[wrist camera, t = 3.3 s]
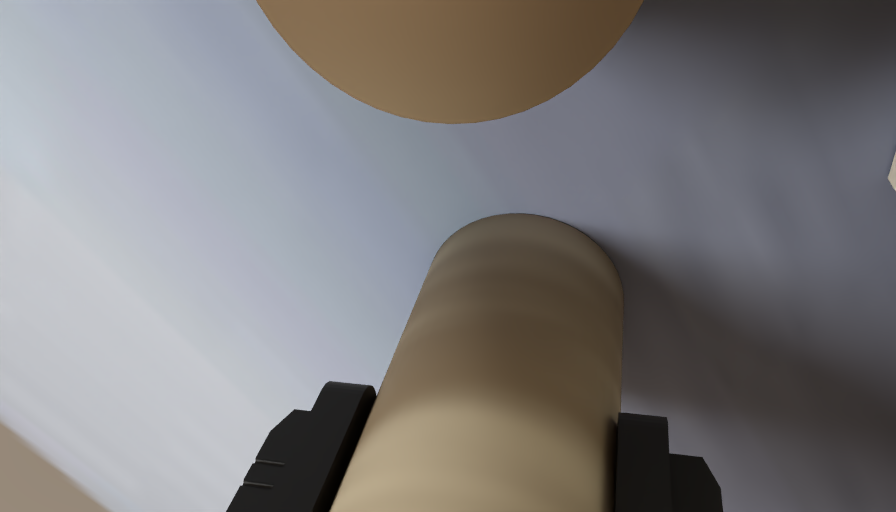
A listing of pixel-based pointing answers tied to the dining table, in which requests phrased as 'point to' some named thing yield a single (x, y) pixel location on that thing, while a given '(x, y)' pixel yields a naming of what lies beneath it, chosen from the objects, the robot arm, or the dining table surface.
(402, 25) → the short dowel
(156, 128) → the dining table surface
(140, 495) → the dining table surface
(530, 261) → the tall dowel
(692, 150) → the dining table surface
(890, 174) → the socket block
